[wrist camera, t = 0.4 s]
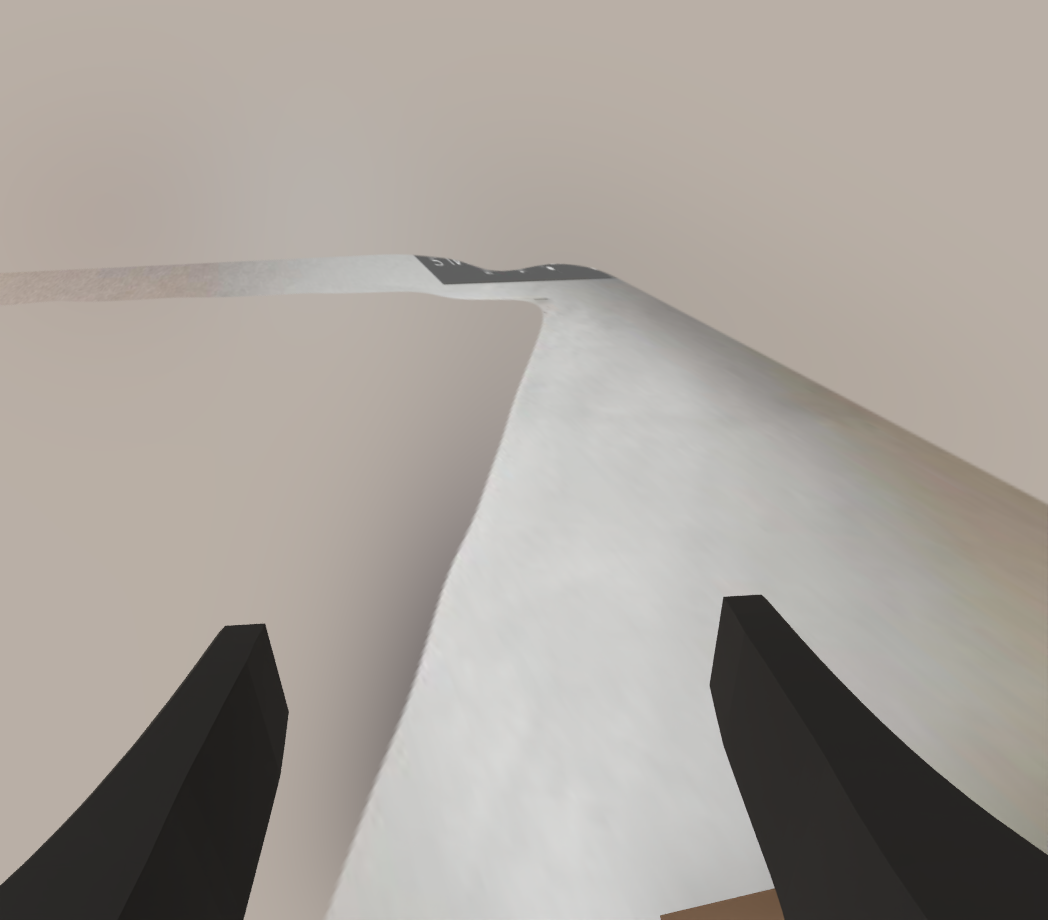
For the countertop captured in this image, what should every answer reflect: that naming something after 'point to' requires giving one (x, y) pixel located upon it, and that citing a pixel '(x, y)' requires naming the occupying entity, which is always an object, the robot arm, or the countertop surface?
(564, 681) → the countertop surface
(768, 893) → the walnut holder
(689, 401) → the countertop surface
